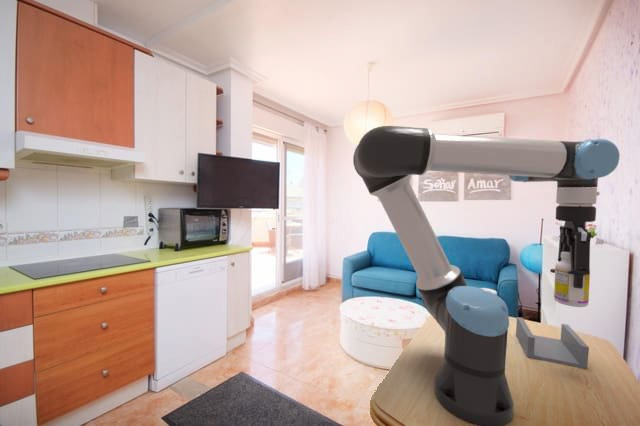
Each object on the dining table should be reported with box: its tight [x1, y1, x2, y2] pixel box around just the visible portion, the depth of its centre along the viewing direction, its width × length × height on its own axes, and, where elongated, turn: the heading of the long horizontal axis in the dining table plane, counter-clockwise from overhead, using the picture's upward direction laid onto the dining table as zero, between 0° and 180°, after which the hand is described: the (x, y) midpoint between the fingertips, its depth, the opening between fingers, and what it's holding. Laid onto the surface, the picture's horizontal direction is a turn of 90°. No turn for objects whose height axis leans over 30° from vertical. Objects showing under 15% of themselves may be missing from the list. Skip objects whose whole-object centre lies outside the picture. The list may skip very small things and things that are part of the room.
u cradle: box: [515, 316, 590, 370], centre depth 84 cm, size 13×14×6 cm
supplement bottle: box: [553, 252, 591, 308], centre depth 73 cm, size 7×7×13 cm
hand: (570, 295), depth 74 cm, fingers closed on supplement bottle, 7 cm apart
